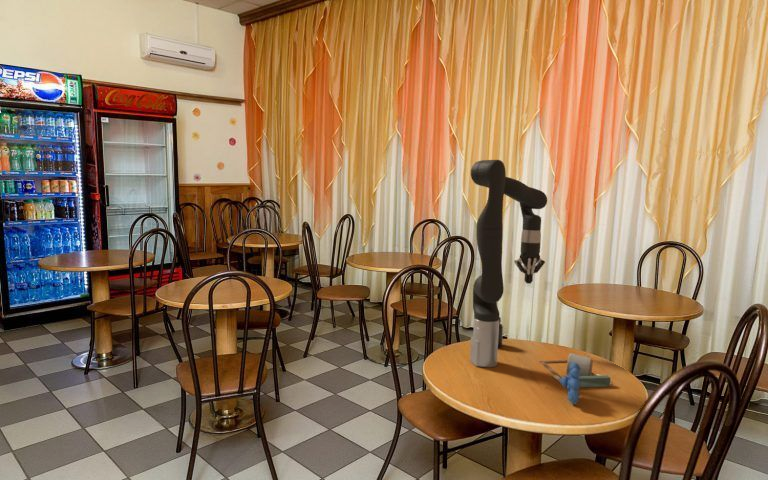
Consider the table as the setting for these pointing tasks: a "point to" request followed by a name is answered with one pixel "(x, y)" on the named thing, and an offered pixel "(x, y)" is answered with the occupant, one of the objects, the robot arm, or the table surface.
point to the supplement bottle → (500, 334)
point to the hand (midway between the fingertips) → (528, 283)
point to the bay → (585, 380)
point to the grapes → (572, 382)
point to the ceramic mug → (580, 364)
